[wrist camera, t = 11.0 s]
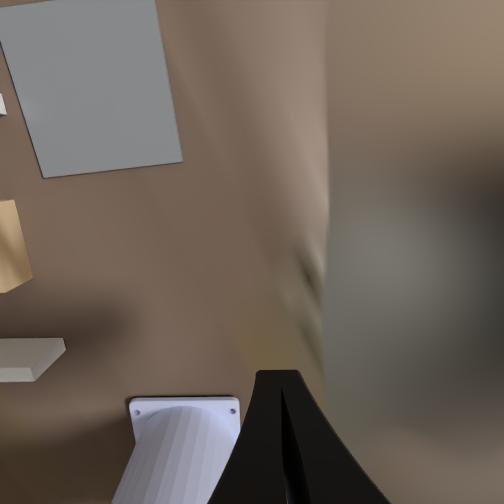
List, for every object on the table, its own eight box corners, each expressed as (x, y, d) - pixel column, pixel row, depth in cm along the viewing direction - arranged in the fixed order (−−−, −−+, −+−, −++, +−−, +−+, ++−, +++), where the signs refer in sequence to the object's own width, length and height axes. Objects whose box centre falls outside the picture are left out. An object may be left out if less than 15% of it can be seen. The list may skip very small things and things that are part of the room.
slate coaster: (185, 161, 17) (182, 161, 16) (53, 177, 17) (43, 178, 16) (157, -4, 14) (151, -13, 14) (4, 17, 15) (-10, 9, 14)
